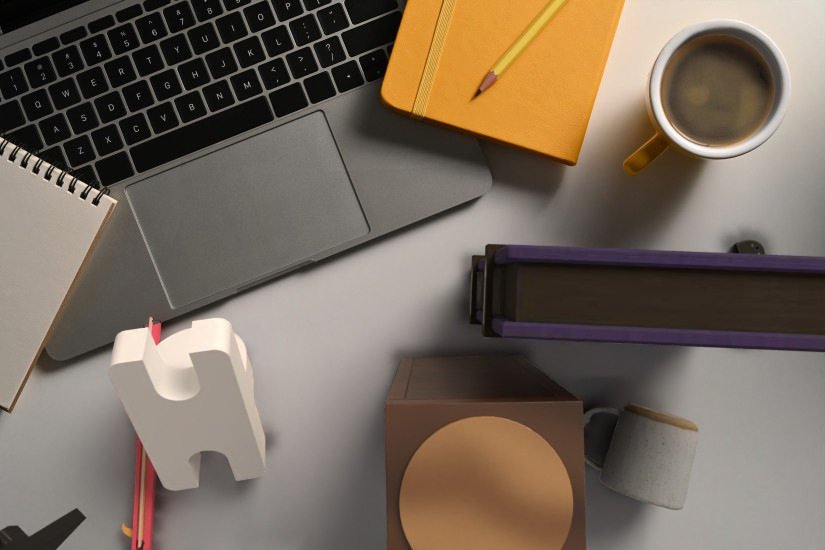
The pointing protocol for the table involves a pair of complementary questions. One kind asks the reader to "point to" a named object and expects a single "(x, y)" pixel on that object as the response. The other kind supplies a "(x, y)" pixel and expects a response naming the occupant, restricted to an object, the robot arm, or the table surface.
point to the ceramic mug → (648, 455)
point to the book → (650, 297)
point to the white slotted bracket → (190, 399)
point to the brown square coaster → (485, 474)
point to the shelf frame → (472, 379)
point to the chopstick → (144, 484)
